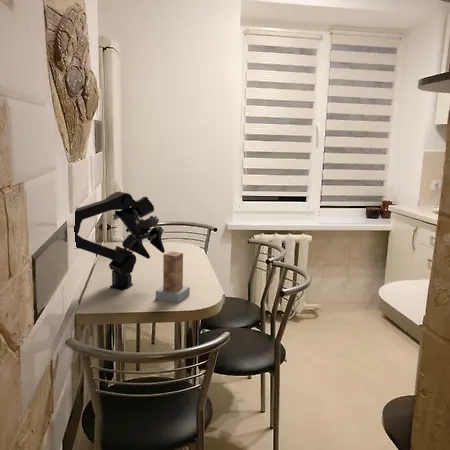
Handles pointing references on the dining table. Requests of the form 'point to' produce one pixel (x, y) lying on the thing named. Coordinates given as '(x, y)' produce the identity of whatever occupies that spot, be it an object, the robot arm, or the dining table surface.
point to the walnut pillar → (172, 271)
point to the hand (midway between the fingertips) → (156, 255)
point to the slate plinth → (173, 294)
